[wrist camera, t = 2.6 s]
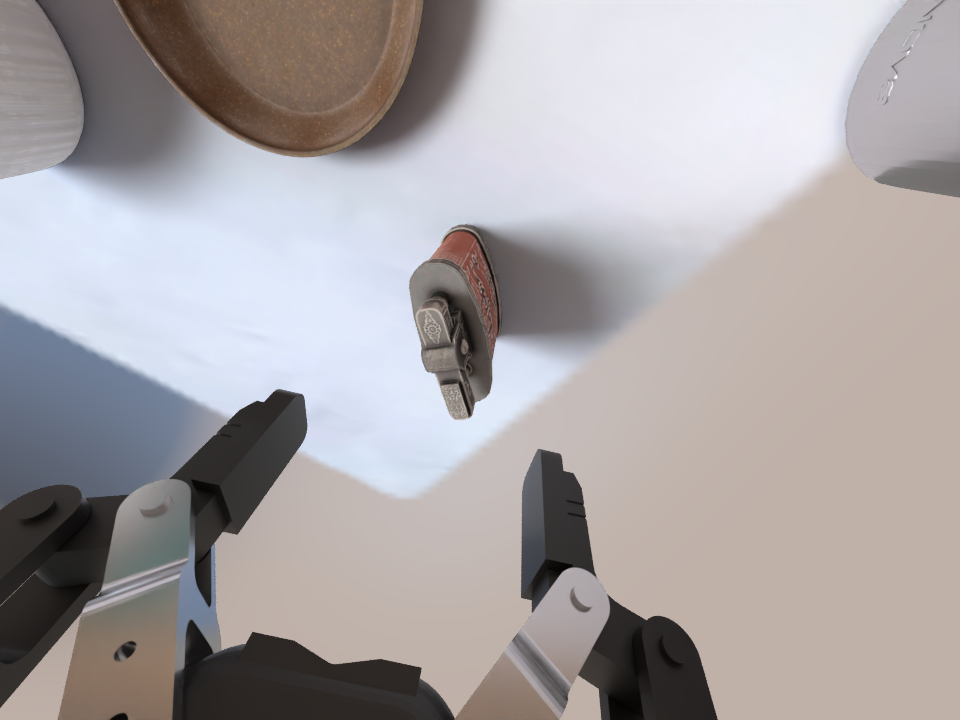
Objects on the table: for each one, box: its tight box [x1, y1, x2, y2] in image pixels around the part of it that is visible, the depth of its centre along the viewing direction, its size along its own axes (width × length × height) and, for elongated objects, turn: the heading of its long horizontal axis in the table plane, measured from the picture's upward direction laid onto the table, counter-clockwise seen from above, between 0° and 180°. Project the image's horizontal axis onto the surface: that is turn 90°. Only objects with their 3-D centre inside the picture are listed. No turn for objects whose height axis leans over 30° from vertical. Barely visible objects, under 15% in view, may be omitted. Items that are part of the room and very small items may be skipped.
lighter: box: [409, 224, 502, 420], centre depth 20 cm, size 8×3×10 cm, turn 13°
